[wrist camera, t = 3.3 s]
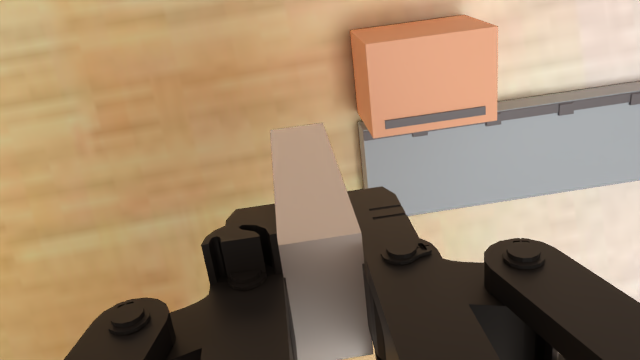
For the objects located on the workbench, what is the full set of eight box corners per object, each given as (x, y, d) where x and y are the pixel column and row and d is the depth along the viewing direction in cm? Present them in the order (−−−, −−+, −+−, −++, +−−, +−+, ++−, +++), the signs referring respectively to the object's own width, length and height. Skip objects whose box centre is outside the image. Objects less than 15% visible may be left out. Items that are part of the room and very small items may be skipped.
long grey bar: (366, 209, 34) (371, 223, 32) (357, 121, 32) (363, 131, 30) (722, 155, 35) (745, 165, 33) (737, 67, 33) (763, 73, 31)
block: (357, 112, 31) (373, 139, 27) (349, 30, 29) (366, 44, 25) (465, 97, 31) (498, 120, 27) (464, 14, 30) (498, 26, 26)
